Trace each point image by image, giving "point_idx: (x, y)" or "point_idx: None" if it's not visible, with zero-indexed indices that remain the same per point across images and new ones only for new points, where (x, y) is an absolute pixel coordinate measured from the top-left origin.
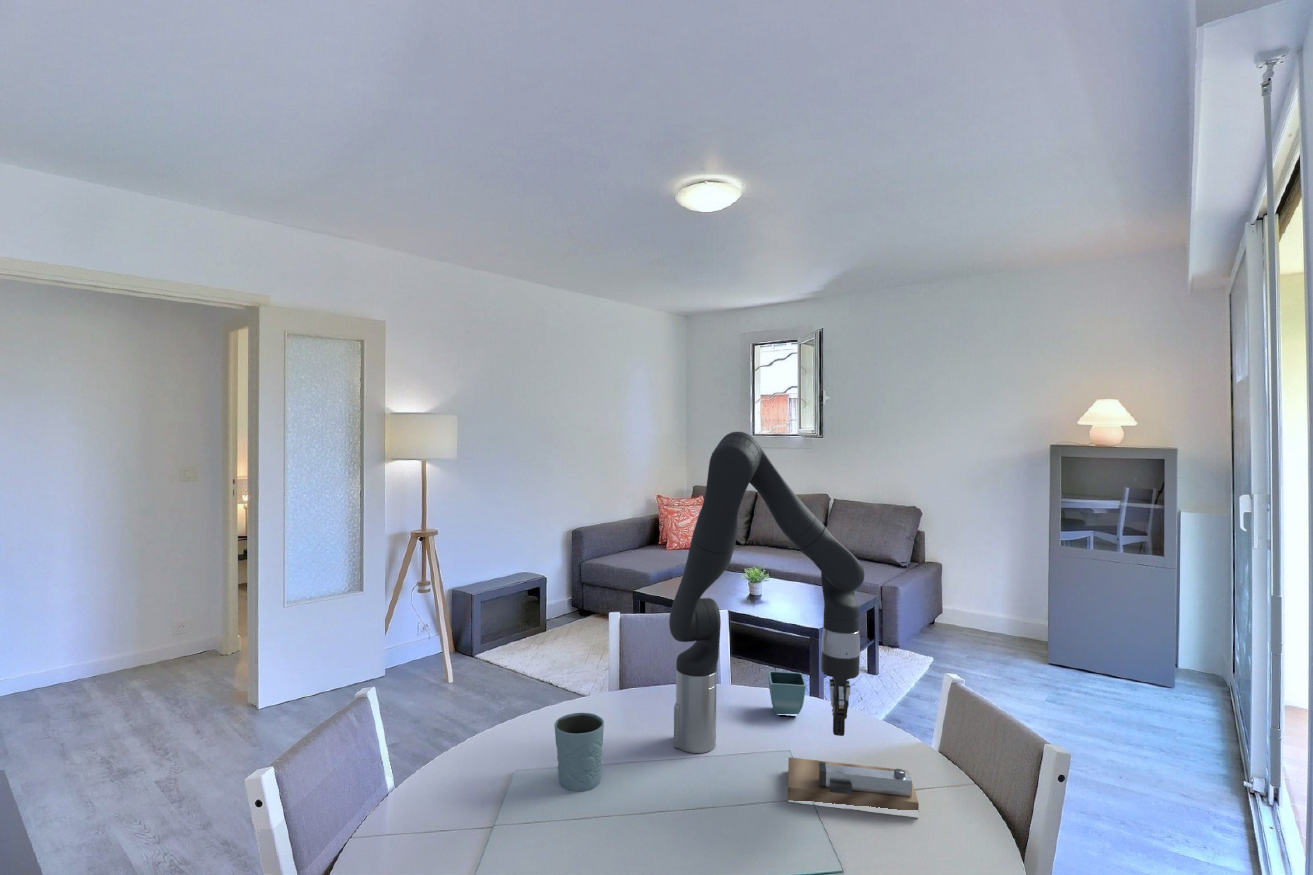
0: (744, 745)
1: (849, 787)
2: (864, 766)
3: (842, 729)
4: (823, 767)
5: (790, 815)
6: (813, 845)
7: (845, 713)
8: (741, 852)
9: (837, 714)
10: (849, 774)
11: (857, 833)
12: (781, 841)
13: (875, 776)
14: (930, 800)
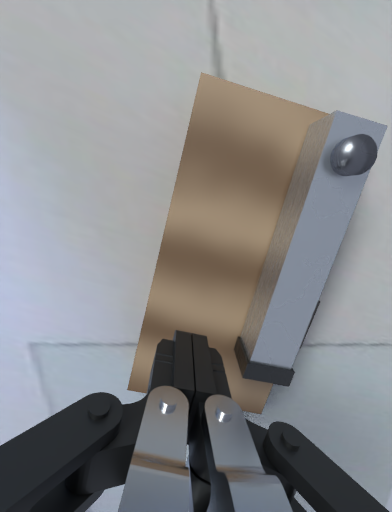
0: (22, 429)
1: (316, 306)
2: (174, 212)
3: (223, 366)
4: (274, 374)
5: (293, 390)
6: (382, 373)
7: (369, 507)
8: (373, 466)
9: (291, 502)
10: (312, 313)
11: (367, 292)
12: (360, 415)
13: (337, 241)
14: (276, 60)
